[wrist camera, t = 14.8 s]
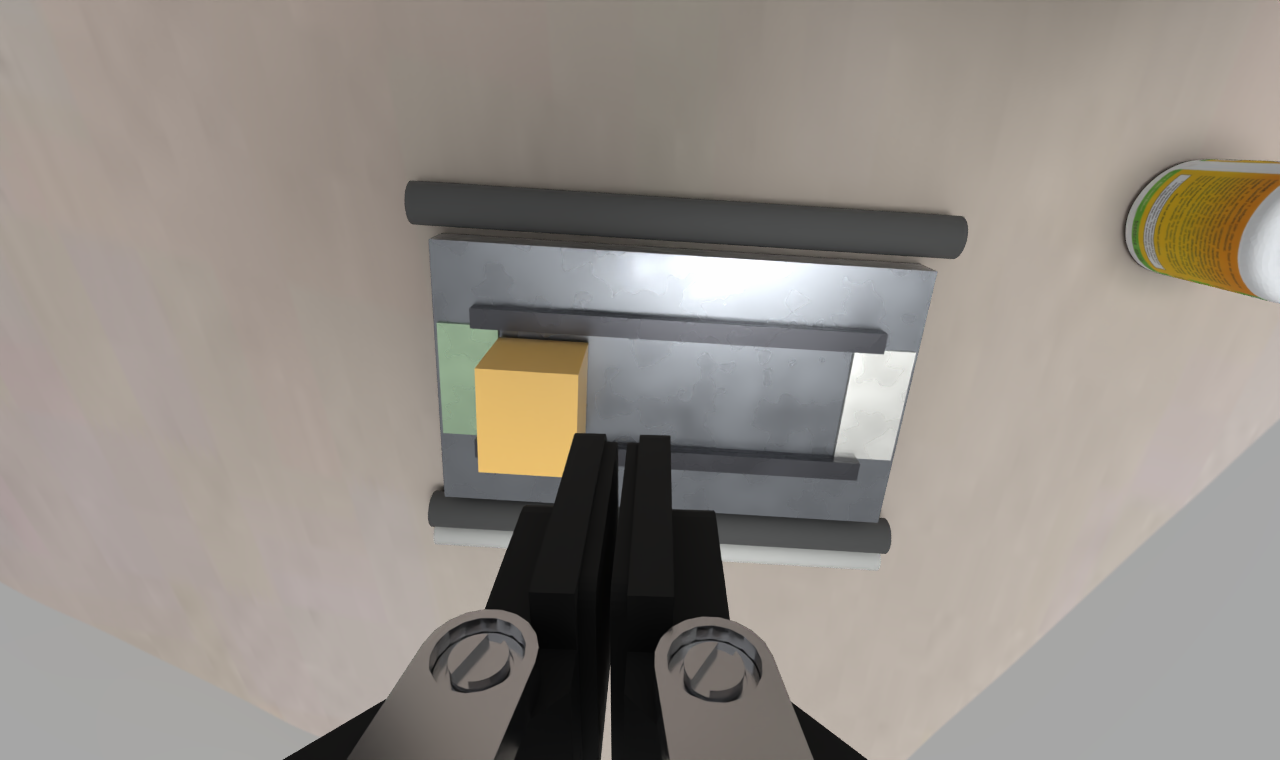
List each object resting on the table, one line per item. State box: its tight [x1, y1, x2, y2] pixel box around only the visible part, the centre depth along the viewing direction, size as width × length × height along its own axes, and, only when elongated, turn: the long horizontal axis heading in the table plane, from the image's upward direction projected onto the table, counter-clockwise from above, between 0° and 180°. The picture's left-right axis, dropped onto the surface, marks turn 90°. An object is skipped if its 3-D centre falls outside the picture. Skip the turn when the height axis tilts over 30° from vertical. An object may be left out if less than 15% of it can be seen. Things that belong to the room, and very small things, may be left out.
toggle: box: [474, 337, 588, 477], centre depth 29 cm, size 4×5×4 cm
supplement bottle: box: [1126, 159, 1280, 304], centre depth 25 cm, size 5×5×10 cm
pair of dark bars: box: [405, 181, 968, 571], centre depth 33 cm, size 26×20×2 cm
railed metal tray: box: [429, 233, 937, 523], centre depth 32 cm, size 24×14×3 cm, turn 86°
